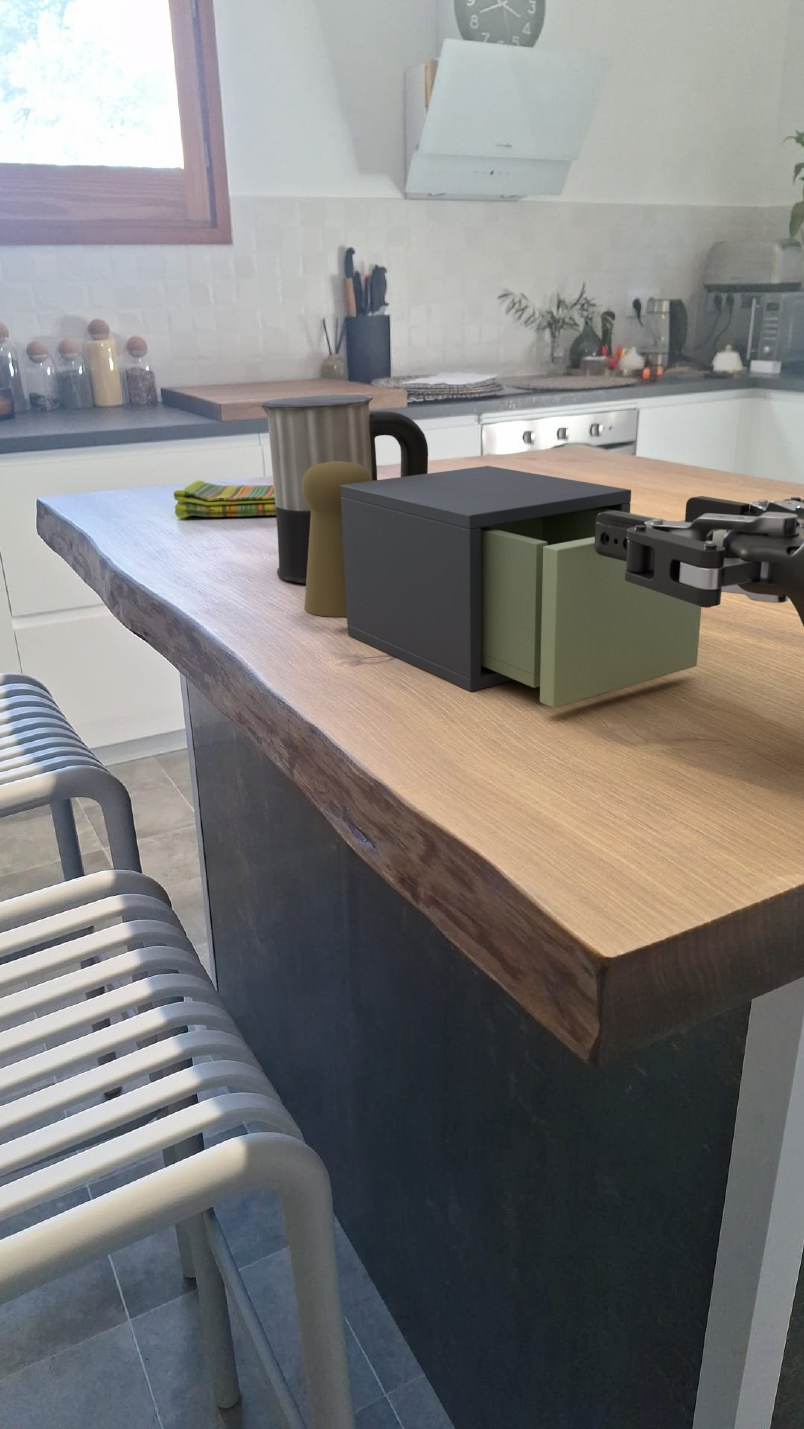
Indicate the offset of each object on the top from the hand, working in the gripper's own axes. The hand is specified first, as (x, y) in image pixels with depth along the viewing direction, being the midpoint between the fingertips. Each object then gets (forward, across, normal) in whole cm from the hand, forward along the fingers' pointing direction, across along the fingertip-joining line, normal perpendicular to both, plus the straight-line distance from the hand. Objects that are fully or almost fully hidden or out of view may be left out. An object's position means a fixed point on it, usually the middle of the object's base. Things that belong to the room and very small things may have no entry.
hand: (646, 523), depth 55 cm
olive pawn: (+29, +3, +11) cm, 31 cm away
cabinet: (+15, 0, +10) cm, 18 cm away
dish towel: (+69, -19, +11) cm, 73 cm away
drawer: (+5, 0, +9) cm, 11 cm away
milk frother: (+42, -4, +11) cm, 44 cm away
